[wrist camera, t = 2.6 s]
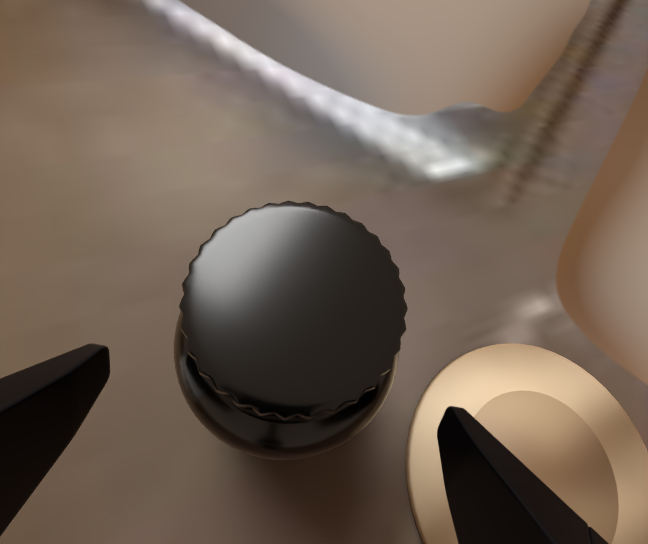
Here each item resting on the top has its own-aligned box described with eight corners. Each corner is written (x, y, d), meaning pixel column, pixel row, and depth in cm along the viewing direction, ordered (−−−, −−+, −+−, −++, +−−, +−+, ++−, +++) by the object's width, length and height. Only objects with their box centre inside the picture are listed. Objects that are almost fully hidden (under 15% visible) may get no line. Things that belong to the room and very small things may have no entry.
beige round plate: (695, 515, 18) (716, 519, 17) (531, 727, 14) (547, 746, 13) (527, 306, 21) (537, 301, 21) (355, 431, 17) (359, 432, 17)
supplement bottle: (374, 363, 19) (514, 294, 8) (287, 474, 16) (316, 600, 5) (281, 281, 20) (290, 118, 9) (186, 374, 17) (37, 308, 6)
